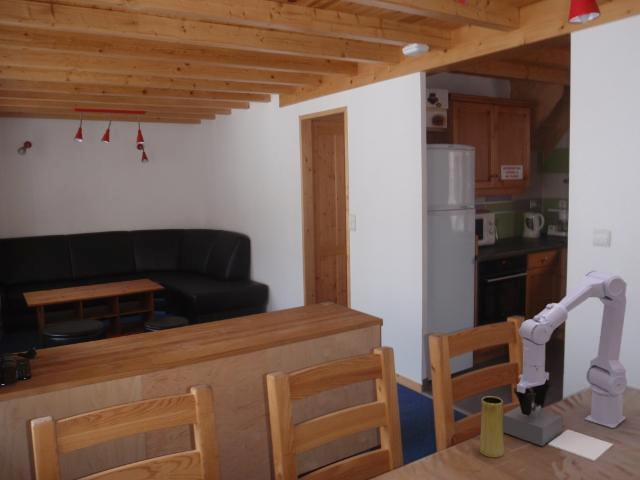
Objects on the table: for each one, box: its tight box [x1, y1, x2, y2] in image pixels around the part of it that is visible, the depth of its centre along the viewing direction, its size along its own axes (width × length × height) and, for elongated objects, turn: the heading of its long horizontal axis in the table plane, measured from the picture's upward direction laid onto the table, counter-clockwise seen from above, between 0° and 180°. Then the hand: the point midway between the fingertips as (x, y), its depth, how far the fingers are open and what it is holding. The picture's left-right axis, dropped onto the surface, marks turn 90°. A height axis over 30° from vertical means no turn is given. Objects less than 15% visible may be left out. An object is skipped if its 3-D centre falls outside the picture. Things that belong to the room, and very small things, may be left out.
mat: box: [547, 429, 614, 462], centre depth 146 cm, size 12×12×1 cm
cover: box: [503, 402, 563, 447], centre depth 153 cm, size 12×12×8 cm
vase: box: [479, 395, 505, 458], centre depth 143 cm, size 6×6×14 cm
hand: (532, 410), depth 153 cm, fingers open, 7 cm apart
